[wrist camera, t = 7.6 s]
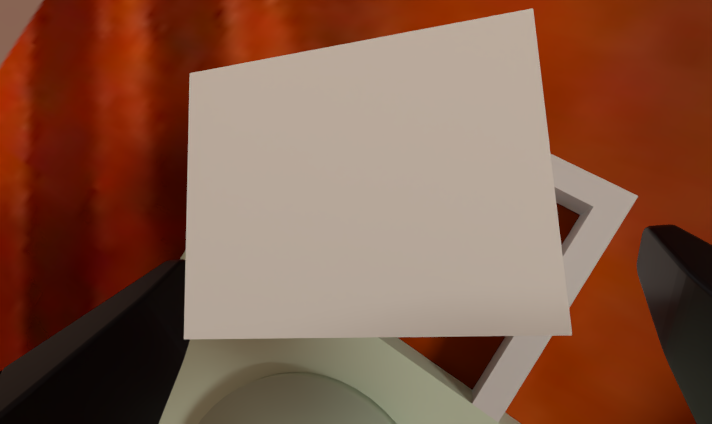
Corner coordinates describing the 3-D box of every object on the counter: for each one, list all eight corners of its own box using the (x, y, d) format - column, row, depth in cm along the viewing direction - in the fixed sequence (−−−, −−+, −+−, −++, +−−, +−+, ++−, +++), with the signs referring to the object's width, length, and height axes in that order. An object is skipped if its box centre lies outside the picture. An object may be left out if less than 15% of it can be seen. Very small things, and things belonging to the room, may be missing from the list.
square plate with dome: (441, 859, 15) (433, 985, 12) (81, 468, 21) (24, 495, 18) (795, 292, 15) (865, 296, 12) (328, 60, 21) (306, 28, 18)
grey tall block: (503, 295, 17) (571, 336, 5) (379, 299, 18) (184, 339, 6) (493, 196, 18) (532, 8, 6) (375, 206, 19) (190, 73, 7)
